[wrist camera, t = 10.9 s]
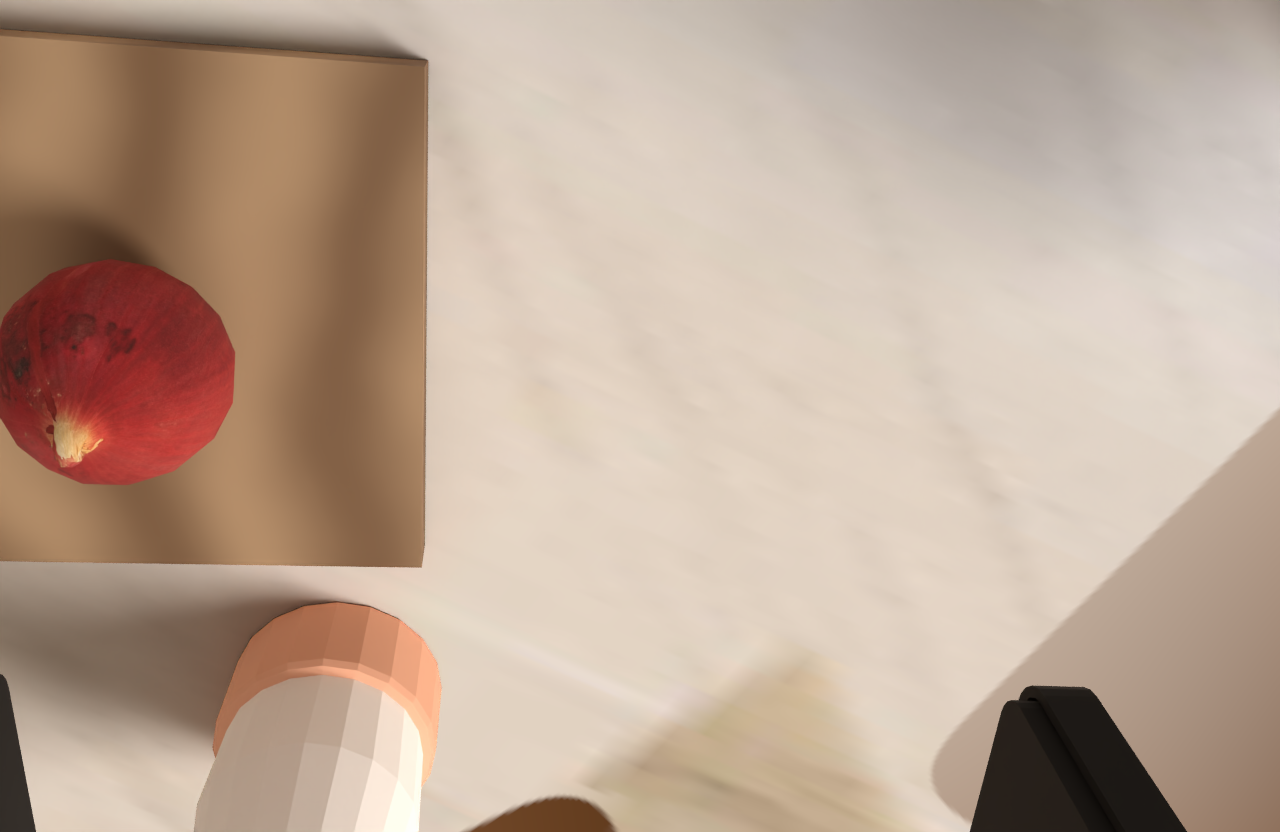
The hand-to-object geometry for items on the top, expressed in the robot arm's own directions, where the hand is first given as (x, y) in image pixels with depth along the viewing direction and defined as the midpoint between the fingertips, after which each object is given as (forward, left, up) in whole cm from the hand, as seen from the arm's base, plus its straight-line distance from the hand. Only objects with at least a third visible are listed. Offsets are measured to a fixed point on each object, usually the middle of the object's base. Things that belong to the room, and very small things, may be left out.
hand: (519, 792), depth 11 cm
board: (+12, +4, -26) cm, 28 cm away
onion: (+10, +4, -24) cm, 27 cm away
